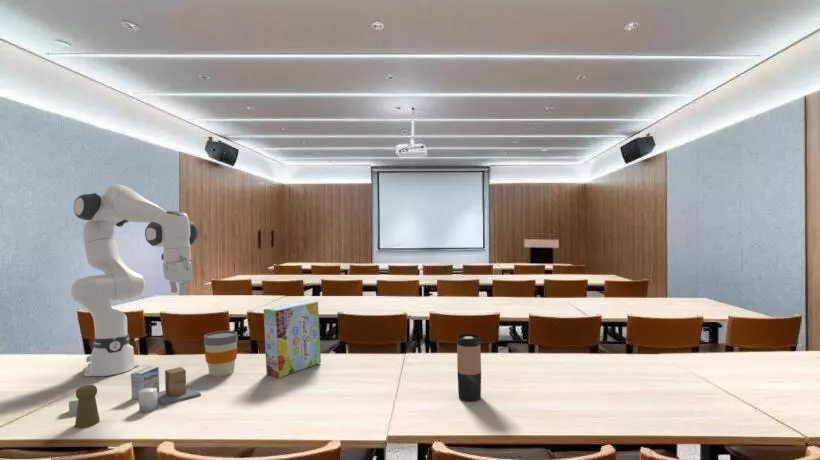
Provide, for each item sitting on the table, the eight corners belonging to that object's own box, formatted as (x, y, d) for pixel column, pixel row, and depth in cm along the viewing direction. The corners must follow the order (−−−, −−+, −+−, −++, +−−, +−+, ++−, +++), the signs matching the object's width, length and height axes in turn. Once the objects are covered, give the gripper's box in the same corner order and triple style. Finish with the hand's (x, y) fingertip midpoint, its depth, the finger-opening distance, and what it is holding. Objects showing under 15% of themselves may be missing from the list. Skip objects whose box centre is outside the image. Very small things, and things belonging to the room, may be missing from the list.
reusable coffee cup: (205, 379, 175) (204, 339, 175) (203, 370, 186) (202, 333, 186) (240, 374, 181) (239, 335, 181) (236, 365, 192) (235, 329, 192)
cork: (82, 419, 141) (81, 383, 141) (104, 418, 141) (103, 382, 141) (70, 428, 135) (68, 390, 134) (92, 427, 135) (91, 389, 135)
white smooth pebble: (137, 409, 148) (136, 390, 148) (154, 405, 151) (154, 386, 151) (141, 413, 144) (141, 394, 144) (159, 409, 148) (159, 390, 148)
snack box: (307, 360, 198) (305, 299, 197) (321, 363, 193) (320, 301, 192) (264, 374, 180) (262, 307, 180) (278, 378, 175) (277, 309, 175)
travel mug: (483, 394, 155) (482, 334, 154) (479, 403, 147) (478, 339, 147) (460, 392, 157) (459, 332, 157) (455, 400, 150) (454, 338, 150)
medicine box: (142, 399, 156) (142, 373, 156) (131, 398, 157) (130, 373, 157) (159, 391, 164) (159, 366, 164) (148, 390, 165) (148, 366, 165)
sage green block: (72, 409, 149) (72, 397, 149) (94, 406, 151) (94, 394, 151) (69, 414, 145) (68, 401, 145) (92, 411, 148) (91, 398, 148)
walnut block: (165, 393, 159) (165, 370, 159) (181, 389, 163) (180, 366, 162) (170, 397, 156) (169, 373, 155) (186, 393, 159) (185, 369, 159)
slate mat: (151, 396, 159) (151, 393, 159) (188, 387, 168) (188, 384, 167) (162, 405, 151) (162, 403, 151) (200, 395, 159) (200, 393, 159)
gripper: (196, 256, 164) (197, 295, 165) (177, 254, 179) (178, 290, 179) (177, 257, 160) (178, 297, 160) (159, 255, 175) (160, 292, 175)
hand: (178, 293), depth 170 cm, fingers open, 8 cm apart
